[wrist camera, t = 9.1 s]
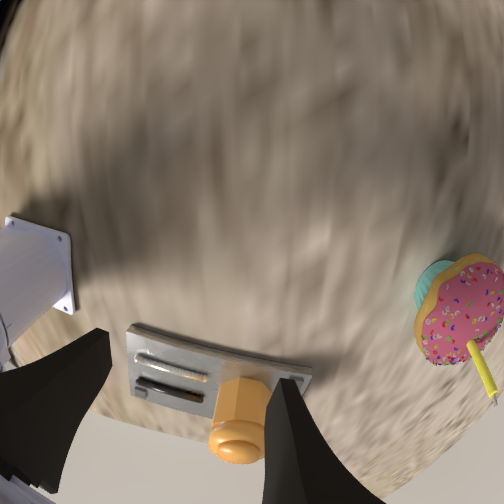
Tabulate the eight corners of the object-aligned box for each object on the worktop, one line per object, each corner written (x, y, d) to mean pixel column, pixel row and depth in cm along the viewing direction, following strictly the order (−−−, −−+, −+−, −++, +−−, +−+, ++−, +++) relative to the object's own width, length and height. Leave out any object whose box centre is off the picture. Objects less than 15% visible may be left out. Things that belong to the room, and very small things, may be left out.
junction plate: (134, 388, 25) (121, 415, 21) (130, 324, 22) (111, 353, 18) (281, 423, 25) (281, 453, 22) (311, 367, 22) (317, 401, 18)
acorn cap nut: (215, 403, 23) (203, 461, 17) (223, 373, 22) (211, 437, 15) (262, 413, 23) (259, 470, 17) (276, 384, 22) (277, 447, 16)
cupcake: (425, 342, 21) (482, 439, 10) (373, 297, 20) (442, 420, 8) (484, 273, 18) (567, 346, 7) (444, 212, 17) (562, 279, 6)
